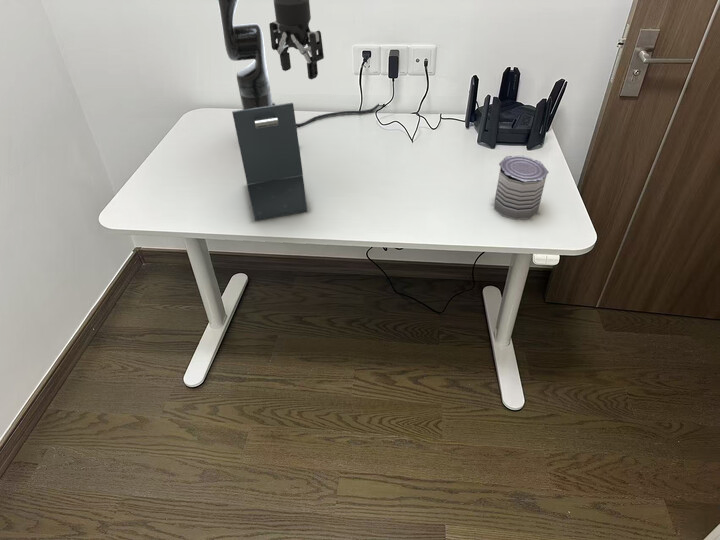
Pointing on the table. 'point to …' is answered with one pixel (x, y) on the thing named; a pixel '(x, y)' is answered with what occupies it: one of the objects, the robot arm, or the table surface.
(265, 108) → the bin lid
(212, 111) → the table surface
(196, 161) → the table surface
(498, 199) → the can
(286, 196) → the bin
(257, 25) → the robot arm
